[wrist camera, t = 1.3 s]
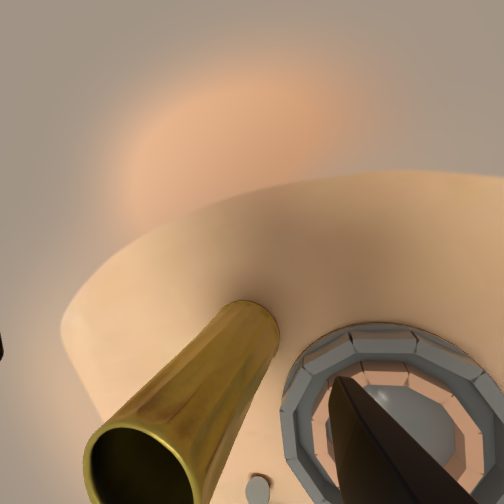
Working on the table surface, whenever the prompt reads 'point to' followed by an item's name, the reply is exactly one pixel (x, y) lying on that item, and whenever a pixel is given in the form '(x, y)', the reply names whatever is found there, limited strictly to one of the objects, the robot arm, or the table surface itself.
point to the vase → (184, 416)
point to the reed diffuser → (257, 491)
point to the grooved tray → (397, 405)
